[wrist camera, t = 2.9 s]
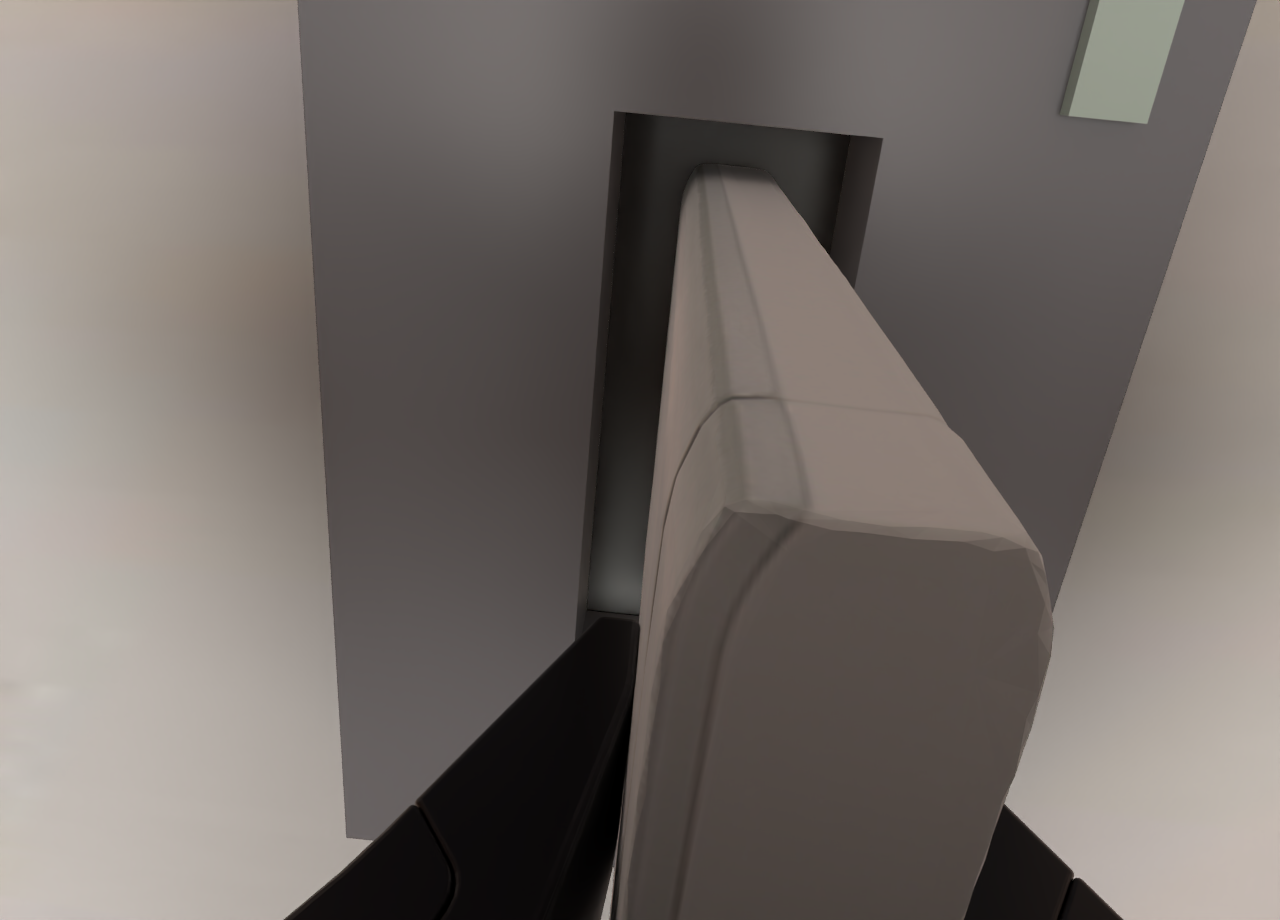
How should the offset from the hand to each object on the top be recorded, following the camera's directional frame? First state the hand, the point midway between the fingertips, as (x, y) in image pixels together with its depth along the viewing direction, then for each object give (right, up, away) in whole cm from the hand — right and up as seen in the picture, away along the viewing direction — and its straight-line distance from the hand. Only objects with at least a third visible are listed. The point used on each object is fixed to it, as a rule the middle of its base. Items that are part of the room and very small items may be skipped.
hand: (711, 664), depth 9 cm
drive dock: (0, +3, +7) cm, 8 cm away
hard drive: (0, +3, +7) cm, 8 cm away
